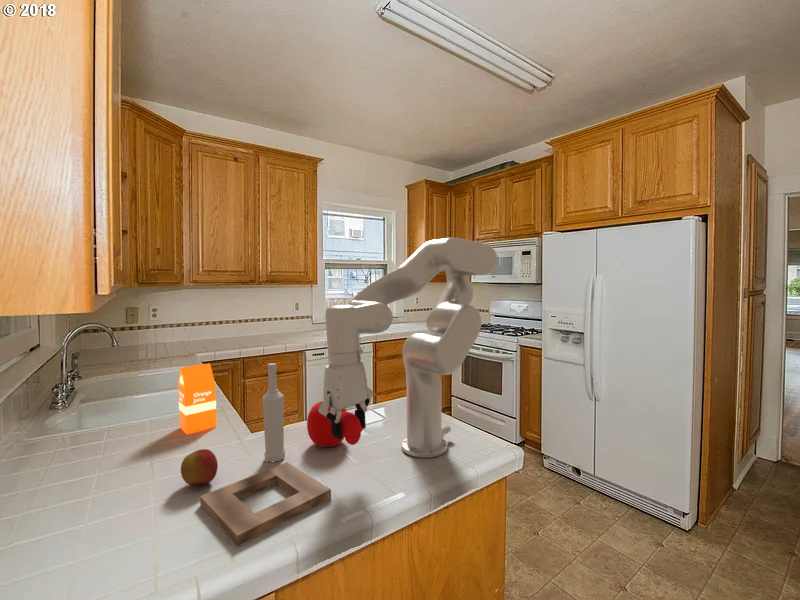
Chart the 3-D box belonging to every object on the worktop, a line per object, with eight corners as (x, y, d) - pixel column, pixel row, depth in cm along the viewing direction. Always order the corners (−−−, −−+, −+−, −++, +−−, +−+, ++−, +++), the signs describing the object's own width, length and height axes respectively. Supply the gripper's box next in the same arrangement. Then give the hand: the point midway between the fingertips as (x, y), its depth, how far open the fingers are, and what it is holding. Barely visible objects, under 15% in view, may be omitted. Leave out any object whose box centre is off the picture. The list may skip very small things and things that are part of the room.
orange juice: (179, 427, 122) (177, 365, 121) (209, 420, 128) (207, 361, 127) (186, 434, 116) (183, 369, 115) (217, 426, 122) (214, 365, 121)
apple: (222, 473, 93) (221, 441, 92) (213, 491, 85) (212, 456, 85) (188, 477, 91) (186, 444, 91) (175, 496, 83) (174, 460, 83)
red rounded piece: (328, 422, 93) (329, 417, 88) (349, 409, 96) (352, 404, 91) (344, 452, 91) (347, 448, 86) (366, 438, 93) (369, 434, 88)
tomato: (329, 456, 101) (328, 409, 100) (298, 447, 107) (296, 402, 106) (358, 439, 111) (357, 397, 111) (328, 431, 117) (327, 391, 117)
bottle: (279, 463, 97) (275, 366, 96) (260, 462, 98) (257, 366, 97) (288, 454, 102) (286, 362, 101) (271, 453, 103) (268, 361, 102)
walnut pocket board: (287, 470, 94) (287, 462, 94) (331, 498, 82) (330, 489, 82) (200, 505, 80) (200, 496, 80) (237, 546, 67) (237, 535, 67)
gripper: (362, 349, 98) (366, 417, 100) (303, 363, 86) (309, 441, 87) (382, 352, 93) (386, 424, 95) (323, 368, 81) (328, 450, 82)
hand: (349, 431), depth 91 cm, fingers closed on red rounded piece, 6 cm apart
